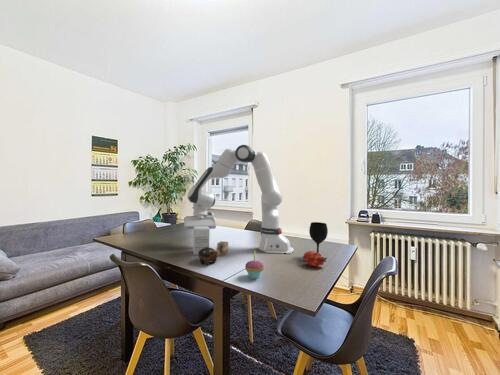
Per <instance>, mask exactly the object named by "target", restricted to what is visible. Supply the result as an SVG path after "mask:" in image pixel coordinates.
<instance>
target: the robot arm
mask: <svg viewBox="0 0 500 375" xmlns="http://www.w3.org/2000/svg"><path fill="white" fill-rule="evenodd" d="M238 162H240V163H244V164H247V163H250V164H251V165H252V167H253V170H254V174H255V177H256V180H257V184H258V186H259V188H260V190H261V197H260V198H261V200H260V201H261V202H260V203H261V227H260V242H259V245H258V249H259V251H261V252H264V253H267V254H284V253H286V254H287V255H288V254H289V255H290V254H293V253H292V252H294V248H293V246H291V242H290V240H289V239H288V238H287V237H286V236H285V235H284V234H282V233H283V230H282V228H281V227H279V226H280V214H279V205H281V203H282V201H283V195H282V194H281V191H280V187H279V185H278V183H277V181H276V179H275V175H274V172H273V169H272V166H271V163H270V159H269V158H268V156H267V153H266V152H263V151H256V152H255V151H254V150H253V148H252V147H251V146H249V145H247V144H241V145H238V147H236V149H235V150H234V149H232V148H225V149H224V150H223V152H222V154H220V156H219V158H218V159H217V161H216V163H215V164H214V165H213V166H209V167H208V168H207V169H205V171H204V172H203V173H202V175H201V176H200V178H198V180H197V181H196V182H195V184H194V185H193V186H192V187H191V189H189V191H188V193H187V199H188V201H189V202H190V203H192V206H193V208H192V209H193V213H192V214H193V215H190V216H189V215H186V216H185V217H183V222H184V224H183V226H184V227H183V228H184V229H185V230H194V227H195V226H208V227H209V230H211V229H212V230H216V228H217V220H216V218H215V214H214V213H213V212H211V211H207V210H209V209H211V208H212V207H214V206H215V203H216V196H215V194H214V193H211V192H209V191H206V190H204V187H205V185H206V184H207V183H208V181H209V180H211V179H214V178H215V179H223V178H227V177H229V175H230V174H231V172H232V171H233V169H234V167H235V166H236V164H237V163H238Z"/></svg>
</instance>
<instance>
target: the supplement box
mask: <svg viewBox="0 0 500 375" xmlns="http://www.w3.org/2000/svg"><path fill="white" fill-rule="evenodd" d="M206 247H209V248H210V229H209V227H208V226H195V227H194V229H193V236H192V251H193V256H194V255H195V256H196V255H197V256H198V253H199V251H200V250H201V249H203V248H206Z"/></svg>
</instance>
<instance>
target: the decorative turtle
mask: <svg viewBox="0 0 500 375" xmlns="http://www.w3.org/2000/svg"><path fill="white" fill-rule="evenodd" d="M197 256H198V259H199V261H200V263H201V264H203V263H204V265H205V266H208V265H209V264H210V263H213V264H216V262H217V258H218V256H219V255H218V253H217V249H214V248H212V247H210V246H209V247H206V248H203V249H201V250H200V251H199V253H198V255H197Z"/></svg>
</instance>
